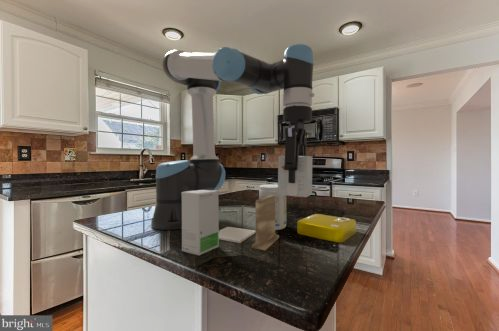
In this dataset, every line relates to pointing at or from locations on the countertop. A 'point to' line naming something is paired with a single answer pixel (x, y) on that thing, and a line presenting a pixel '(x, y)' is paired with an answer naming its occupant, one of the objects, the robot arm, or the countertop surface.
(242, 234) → the cream pad
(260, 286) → the countertop surface
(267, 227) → the oak screen
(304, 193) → the small box
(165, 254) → the countertop surface
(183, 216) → the skincare box
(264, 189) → the supplement tub
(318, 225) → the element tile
